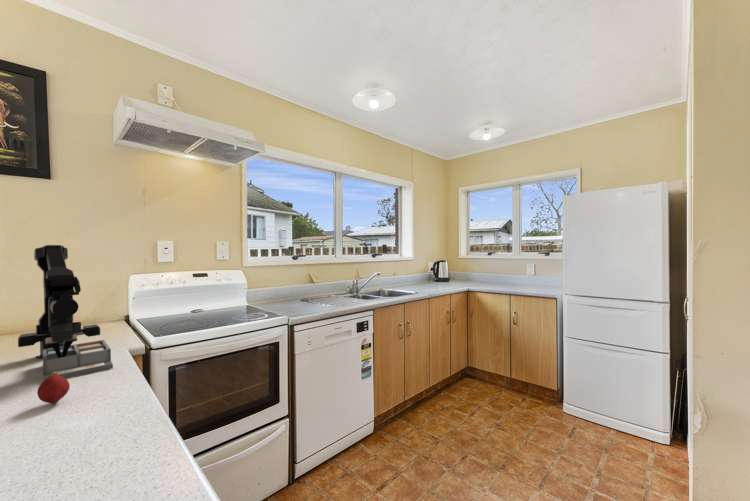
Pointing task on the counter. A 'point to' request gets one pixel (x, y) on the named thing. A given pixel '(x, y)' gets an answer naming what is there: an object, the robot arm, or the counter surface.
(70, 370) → the grey compartment tray
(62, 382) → the onion
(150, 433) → the counter surface
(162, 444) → the counter surface
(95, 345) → the terracotta key
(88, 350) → the sand key
